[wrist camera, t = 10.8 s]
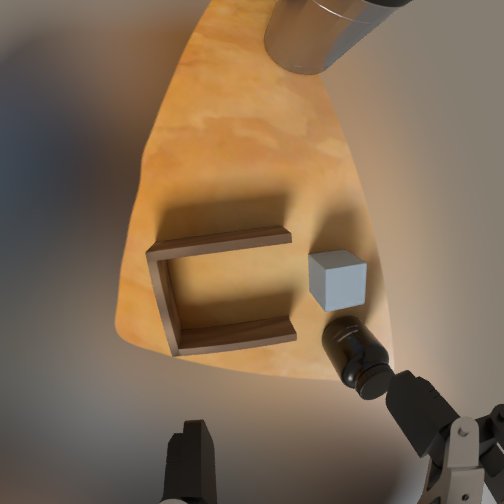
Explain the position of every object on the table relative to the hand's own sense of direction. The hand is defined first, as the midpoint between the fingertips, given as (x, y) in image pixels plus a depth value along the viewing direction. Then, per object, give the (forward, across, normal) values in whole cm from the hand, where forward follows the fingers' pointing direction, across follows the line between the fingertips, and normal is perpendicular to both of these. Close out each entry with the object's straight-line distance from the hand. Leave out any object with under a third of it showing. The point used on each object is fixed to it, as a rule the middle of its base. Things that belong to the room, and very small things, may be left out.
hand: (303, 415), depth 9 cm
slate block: (+24, -10, +4) cm, 26 cm away
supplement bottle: (+24, -12, +15) cm, 31 cm away
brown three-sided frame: (+24, +3, +4) cm, 24 cm away
